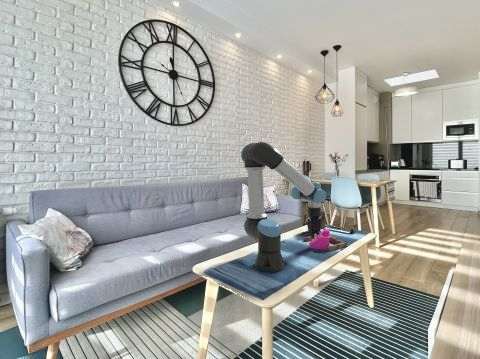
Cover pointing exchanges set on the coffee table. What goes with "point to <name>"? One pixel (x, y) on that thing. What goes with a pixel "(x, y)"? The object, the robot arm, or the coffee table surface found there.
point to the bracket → (321, 240)
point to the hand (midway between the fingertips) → (314, 243)
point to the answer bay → (337, 245)
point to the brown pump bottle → (322, 219)
